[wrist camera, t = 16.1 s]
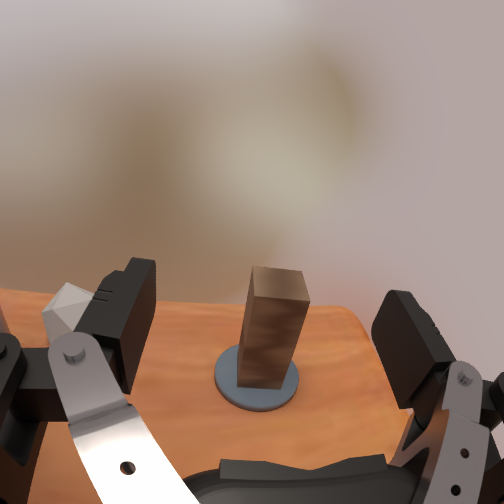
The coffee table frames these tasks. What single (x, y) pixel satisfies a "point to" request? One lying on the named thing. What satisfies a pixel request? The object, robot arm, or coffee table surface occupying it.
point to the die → (65, 310)
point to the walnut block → (270, 326)
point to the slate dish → (251, 396)
